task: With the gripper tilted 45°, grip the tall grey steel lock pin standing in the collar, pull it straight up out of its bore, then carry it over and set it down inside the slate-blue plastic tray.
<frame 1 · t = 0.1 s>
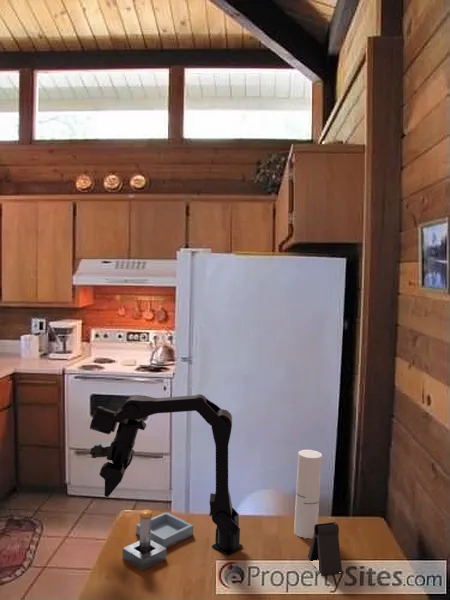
hand: (110, 489, 162), 15 cm above the table, tool pointing down, fingers open, 9 cm apart
cylindrical container: (305, 533, 173), on the table
tray: (164, 534, 168), on the table
pin collar: (144, 558, 155), on the table
lock pin: (145, 535, 154), in the pin collar
phone stand: (324, 566, 155), on the table
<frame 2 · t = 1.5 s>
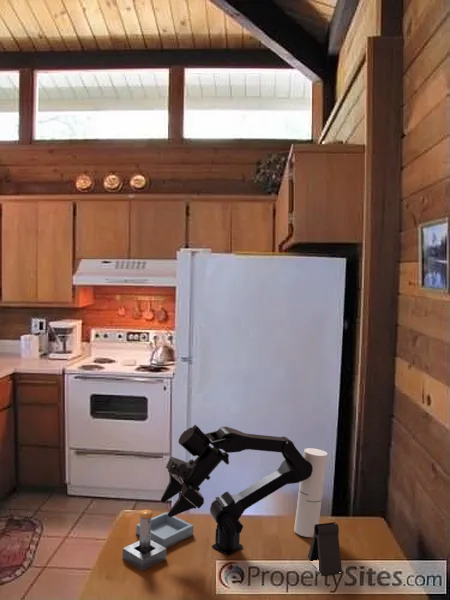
hand: (165, 508, 156), 14 cm above the table, tool tilted 45°, fingers open, 9 cm apart
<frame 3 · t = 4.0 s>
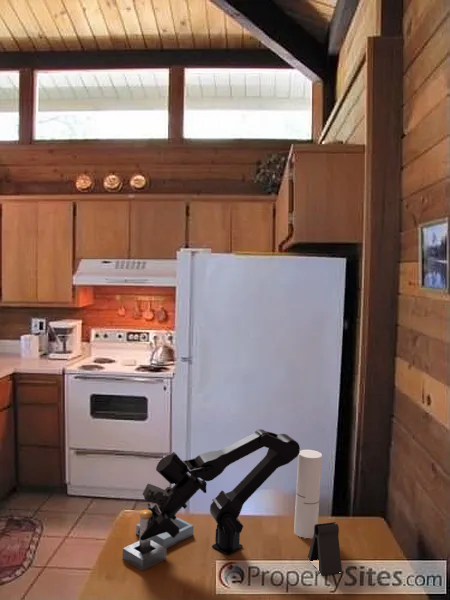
hand: (140, 536, 154), 7 cm above the table, tool tilted 45°, fingers closed on lock pin, 3 cm apart
lock pin: (145, 535, 154), in the pin collar, touching gripper
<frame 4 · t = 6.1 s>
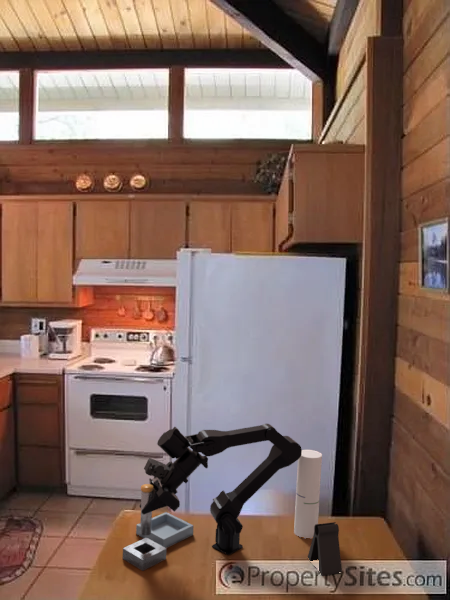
hand: (141, 510, 154), 14 cm above the table, tool tilted 45°, fingers closed on lock pin, 3 cm apart
lock pin: (146, 509, 154), point 14 cm above the table, touching gripper
everything else where it was.
when the fingers open (9 cm above the table, at t = 8.2 s): lock pin drops 1 cm, resting on tray.
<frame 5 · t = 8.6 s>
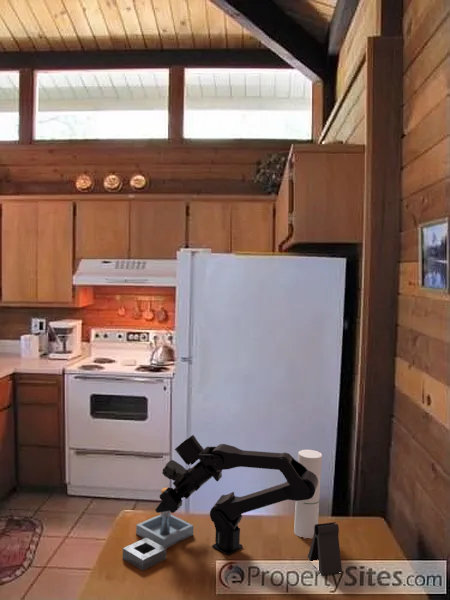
hand: (161, 506, 168), 9 cm above the table, tool tilted 45°, fingers open, 7 cm apart
lock pin: (166, 511, 168), in the tray, point 7 cm above the table
everything else where it was.
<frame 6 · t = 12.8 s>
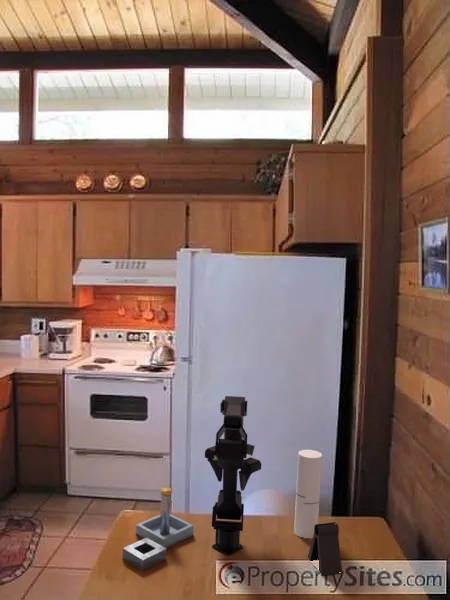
hand: (231, 485, 174), 13 cm above the table, tool pointing down, fingers open, 9 cm apart
nothing on the table moved.
at the end: lock pin inside the target area on the tray (0.0 cm from its centre), point 7.2 cm above the tray's base; the gripper is holding nothing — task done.
